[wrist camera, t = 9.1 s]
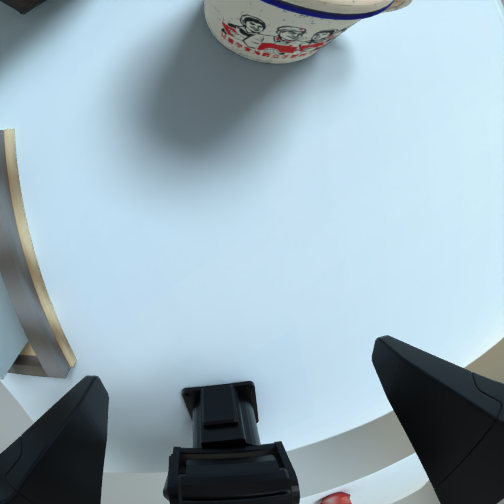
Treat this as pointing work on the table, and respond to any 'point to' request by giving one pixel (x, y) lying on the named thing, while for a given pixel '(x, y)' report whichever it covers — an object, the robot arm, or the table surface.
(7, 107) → the table surface
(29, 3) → the manual coffee grinder
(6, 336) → the light blue block
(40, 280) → the grey and beige frame
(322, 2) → the teacup with lid
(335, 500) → the liquor
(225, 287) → the table surface
